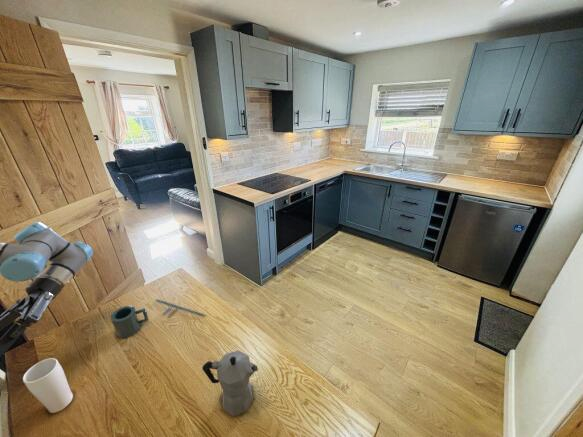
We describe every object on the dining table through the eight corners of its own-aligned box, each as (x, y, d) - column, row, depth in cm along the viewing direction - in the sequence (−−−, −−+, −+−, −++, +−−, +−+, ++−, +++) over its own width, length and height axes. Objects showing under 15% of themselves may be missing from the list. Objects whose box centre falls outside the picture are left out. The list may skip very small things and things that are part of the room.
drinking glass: (83, 392, 71) (64, 359, 65) (61, 419, 65) (38, 384, 59) (62, 389, 72) (42, 356, 66) (38, 415, 65) (14, 381, 59)
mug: (117, 342, 87) (110, 324, 83) (117, 328, 92) (110, 310, 89) (150, 329, 92) (145, 312, 89) (148, 316, 98) (143, 299, 94)
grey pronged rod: (195, 323, 93) (203, 314, 98) (146, 307, 100) (156, 299, 105) (195, 326, 93) (204, 317, 98) (147, 309, 101) (157, 302, 105)
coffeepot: (262, 384, 74) (260, 344, 67) (256, 420, 66) (253, 378, 58) (214, 380, 75) (207, 340, 68) (202, 415, 66) (192, 373, 59)
